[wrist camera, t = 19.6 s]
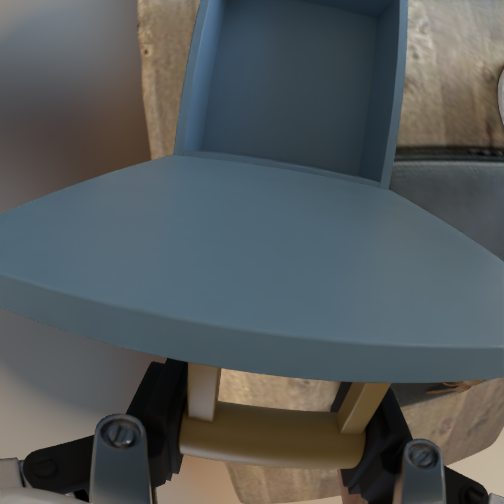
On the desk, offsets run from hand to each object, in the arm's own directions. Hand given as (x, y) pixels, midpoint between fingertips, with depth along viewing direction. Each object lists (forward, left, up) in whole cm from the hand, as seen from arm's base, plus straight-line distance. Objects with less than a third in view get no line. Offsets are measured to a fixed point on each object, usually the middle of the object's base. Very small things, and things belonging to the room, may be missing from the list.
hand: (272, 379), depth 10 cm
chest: (-12, -9, -22) cm, 27 cm away
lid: (-5, -3, -5) cm, 7 cm away
